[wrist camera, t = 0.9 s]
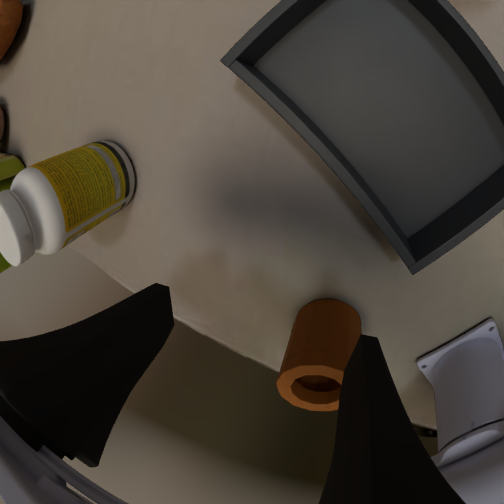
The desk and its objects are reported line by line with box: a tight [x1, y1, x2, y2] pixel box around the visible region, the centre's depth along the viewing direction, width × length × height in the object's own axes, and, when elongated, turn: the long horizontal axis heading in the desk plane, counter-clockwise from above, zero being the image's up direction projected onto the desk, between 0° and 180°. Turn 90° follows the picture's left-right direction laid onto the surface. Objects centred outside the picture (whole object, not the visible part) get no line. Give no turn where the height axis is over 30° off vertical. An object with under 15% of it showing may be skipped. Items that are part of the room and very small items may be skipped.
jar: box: [276, 299, 361, 411], centre depth 19 cm, size 5×5×6 cm
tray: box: [220, 0, 504, 275], centre depth 12 cm, size 15×11×4 cm
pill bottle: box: [0, 141, 135, 266], centre depth 17 cm, size 6×6×11 cm
